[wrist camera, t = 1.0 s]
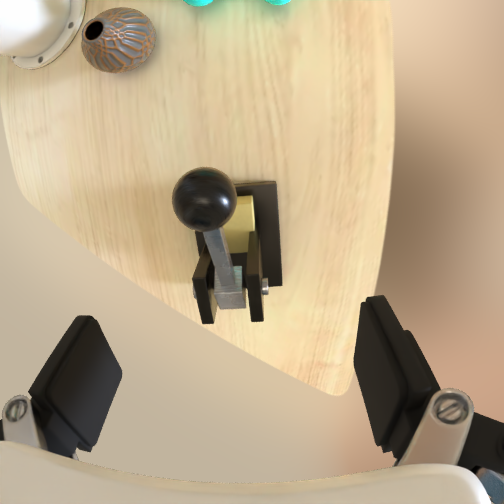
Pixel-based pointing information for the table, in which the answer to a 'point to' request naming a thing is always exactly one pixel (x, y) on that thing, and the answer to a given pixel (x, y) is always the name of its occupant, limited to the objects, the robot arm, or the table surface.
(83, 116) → the table surface
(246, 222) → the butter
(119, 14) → the vase
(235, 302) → the ball knob lever
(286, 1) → the turquoise capsule pair
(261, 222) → the black lever base
